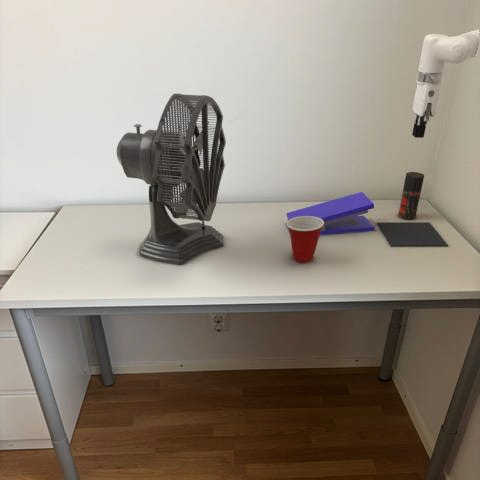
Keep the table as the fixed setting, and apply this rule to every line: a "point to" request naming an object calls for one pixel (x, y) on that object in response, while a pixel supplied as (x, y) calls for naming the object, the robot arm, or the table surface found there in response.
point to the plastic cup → (304, 236)
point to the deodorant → (411, 195)
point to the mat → (411, 234)
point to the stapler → (340, 214)
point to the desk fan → (178, 178)
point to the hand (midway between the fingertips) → (417, 136)
